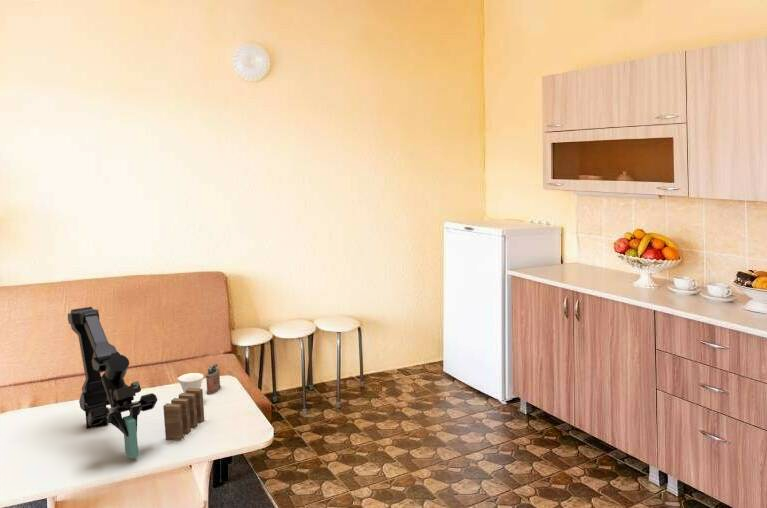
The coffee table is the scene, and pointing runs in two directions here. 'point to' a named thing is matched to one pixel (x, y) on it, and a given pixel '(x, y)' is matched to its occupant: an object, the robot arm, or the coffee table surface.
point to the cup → (190, 381)
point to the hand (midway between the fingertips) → (131, 434)
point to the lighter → (213, 379)
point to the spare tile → (131, 437)
